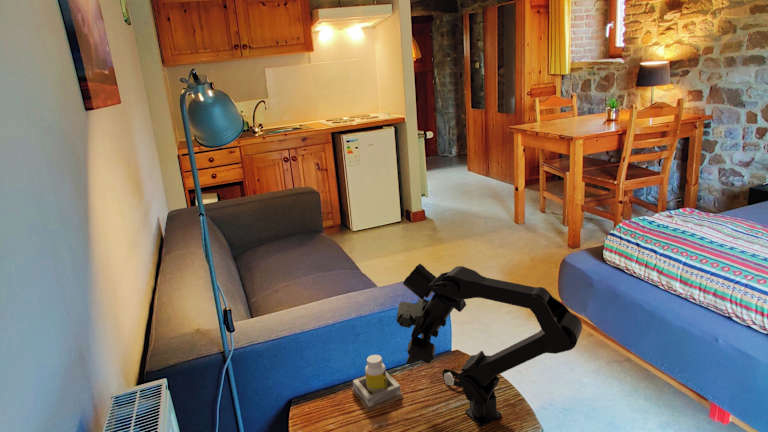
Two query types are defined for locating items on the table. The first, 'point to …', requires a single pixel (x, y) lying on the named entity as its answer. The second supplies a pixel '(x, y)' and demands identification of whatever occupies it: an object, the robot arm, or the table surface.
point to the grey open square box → (376, 393)
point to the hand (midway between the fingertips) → (410, 349)
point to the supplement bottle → (375, 374)
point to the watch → (450, 377)
